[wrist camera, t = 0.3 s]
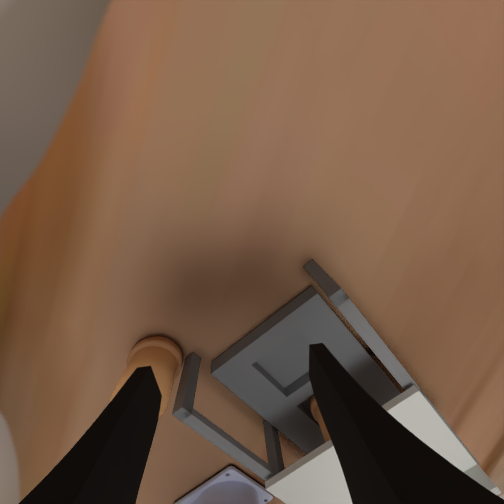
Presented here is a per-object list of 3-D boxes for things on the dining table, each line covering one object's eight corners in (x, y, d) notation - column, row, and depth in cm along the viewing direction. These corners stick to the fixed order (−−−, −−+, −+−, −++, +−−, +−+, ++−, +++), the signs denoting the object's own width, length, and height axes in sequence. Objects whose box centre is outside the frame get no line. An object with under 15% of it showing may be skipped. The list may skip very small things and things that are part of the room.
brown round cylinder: (159, 382, 23) (141, 435, 19) (121, 354, 22) (91, 403, 17) (194, 355, 23) (184, 402, 18) (157, 324, 21) (137, 367, 17)
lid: (346, 539, 24) (356, 572, 22) (264, 481, 20) (268, 515, 18) (476, 463, 22) (501, 492, 20) (414, 384, 18) (436, 410, 16)
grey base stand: (326, 474, 30) (348, 539, 24) (185, 358, 23) (171, 414, 17) (431, 408, 28) (479, 464, 22) (312, 259, 21) (341, 288, 15)
